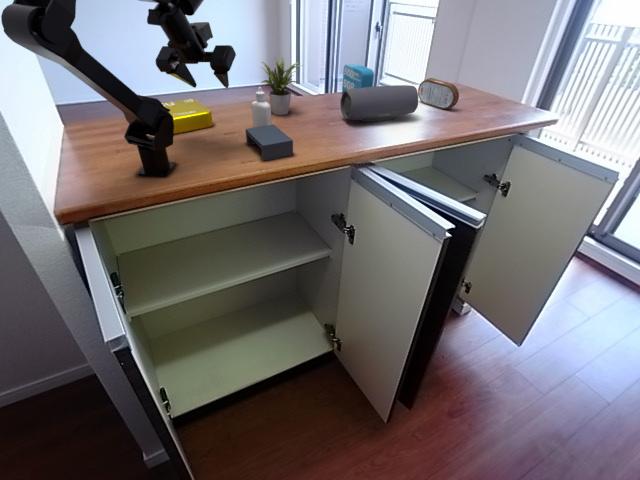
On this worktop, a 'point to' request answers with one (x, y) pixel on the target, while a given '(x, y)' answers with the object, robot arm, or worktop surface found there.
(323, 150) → the worktop surface
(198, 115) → the element tile
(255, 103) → the eye dropper bottle
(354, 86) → the data package
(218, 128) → the worktop surface
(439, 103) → the tin
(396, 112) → the bluetooth speaker
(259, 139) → the shelf
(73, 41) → the robot arm
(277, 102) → the house plant
